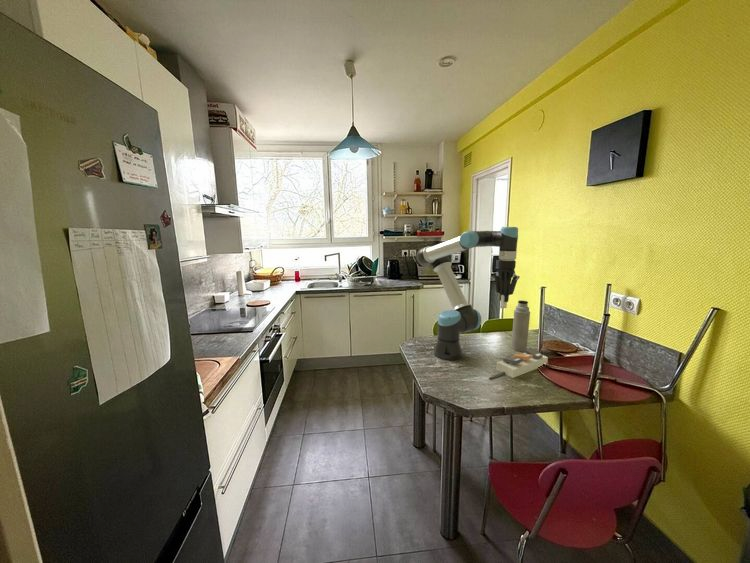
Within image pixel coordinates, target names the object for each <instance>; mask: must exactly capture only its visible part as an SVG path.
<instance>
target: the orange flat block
mask: <svg viewBox="0 0 750 563" xmlns="http://www.w3.org/2000/svg"><path fill="white" fill-rule="evenodd" d="M512 357H516V358H521V359H523V360H528V359H531V358H533V355H530V354H523V353H521V352H520V353H519V352H518V353H517V354H514V355H513V356H512Z"/></svg>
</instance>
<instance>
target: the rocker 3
mask: <svg viewBox="0 0 750 563" xmlns="http://www.w3.org/2000/svg"><path fill="white" fill-rule="evenodd" d="M523 353H527V354H530V355H533V358H535V359H539V358H542V356H543V355H544V354H543V353H540V352H539V351H537V350H535V349H533V348H532V347H527V349H524V352H523Z"/></svg>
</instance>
